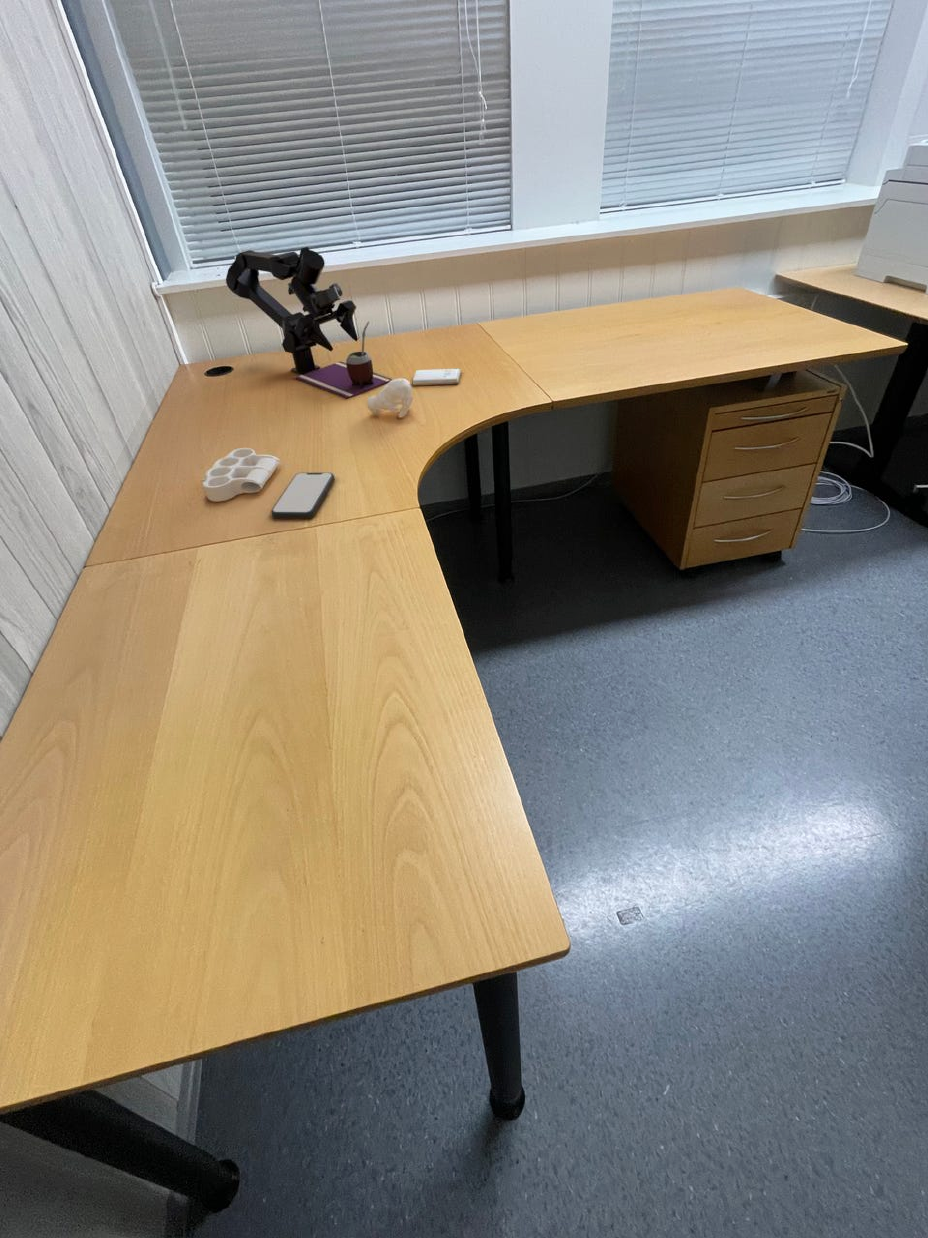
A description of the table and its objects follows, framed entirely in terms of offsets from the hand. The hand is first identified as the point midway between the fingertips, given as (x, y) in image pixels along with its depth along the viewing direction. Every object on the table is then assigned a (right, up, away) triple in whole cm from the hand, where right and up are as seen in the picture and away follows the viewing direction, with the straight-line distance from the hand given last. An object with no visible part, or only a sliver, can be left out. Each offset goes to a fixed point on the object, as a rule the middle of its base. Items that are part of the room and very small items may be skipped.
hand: (344, 345), depth 165 cm
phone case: (0, -51, -42) cm, 66 cm away
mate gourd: (+5, -9, +4) cm, 11 cm away
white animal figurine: (+14, -23, -12) cm, 30 cm away
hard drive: (+25, -8, +3) cm, 27 cm away
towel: (-2, -6, +9) cm, 11 cm away
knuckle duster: (-16, -45, -34) cm, 59 cm away
